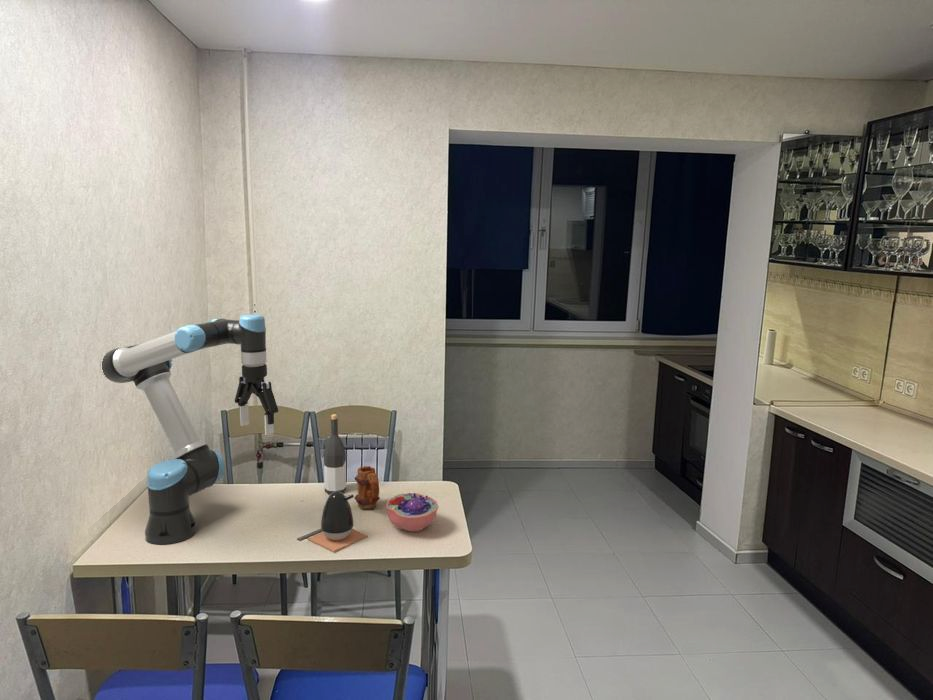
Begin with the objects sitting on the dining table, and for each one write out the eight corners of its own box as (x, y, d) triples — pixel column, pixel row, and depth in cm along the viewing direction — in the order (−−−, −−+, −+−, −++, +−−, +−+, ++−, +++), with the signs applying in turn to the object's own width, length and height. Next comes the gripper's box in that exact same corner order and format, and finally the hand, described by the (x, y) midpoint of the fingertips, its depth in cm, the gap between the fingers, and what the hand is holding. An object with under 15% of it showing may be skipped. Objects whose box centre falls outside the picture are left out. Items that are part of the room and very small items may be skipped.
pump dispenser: (352, 543, 206) (351, 498, 203) (319, 544, 205) (317, 498, 202) (355, 529, 216) (355, 485, 213) (323, 529, 215) (322, 486, 212)
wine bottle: (324, 487, 252) (323, 412, 247) (346, 486, 254) (345, 411, 248) (324, 495, 244) (322, 418, 239) (346, 494, 246) (345, 417, 240)
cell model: (428, 512, 232) (428, 481, 230) (443, 537, 213) (444, 504, 211) (381, 517, 227) (381, 486, 225) (392, 543, 208) (392, 510, 206)
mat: (307, 540, 209) (307, 538, 209) (341, 525, 220) (341, 523, 220) (334, 552, 201) (334, 551, 201) (367, 537, 212) (367, 535, 212)
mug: (352, 503, 238) (351, 464, 235) (373, 500, 241) (373, 461, 239) (365, 519, 225) (364, 478, 222) (387, 515, 229) (387, 474, 226)
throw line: (297, 539, 209) (296, 538, 209) (340, 521, 223) (340, 520, 223) (299, 541, 208) (299, 539, 208) (343, 522, 222) (343, 521, 222)
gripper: (288, 368, 200) (290, 434, 204) (242, 357, 215) (245, 419, 219) (267, 371, 194) (270, 440, 198) (221, 360, 210) (224, 424, 213)
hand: (256, 429), depth 209 cm, fingers open, 13 cm apart
